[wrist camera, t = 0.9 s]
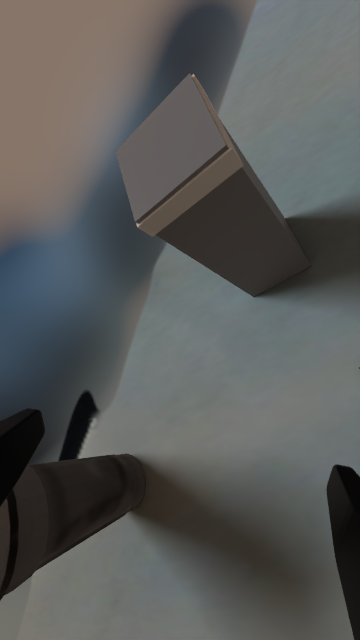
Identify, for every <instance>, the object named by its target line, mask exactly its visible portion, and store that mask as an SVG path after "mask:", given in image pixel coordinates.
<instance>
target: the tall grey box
mask: <svg viewBox="0 0 360 640" xmlns="http://www.w3.org/2000/svg"><path fill="white" fill-rule="evenodd" d="M116 155H117V158H118V162H119V166H120V169H121V173H122V176H123V180H124V184H125V187H126V191H127V194H128V198H129V201H130V205H131V209H132V212H133V216H134V220H135V222H136V224H137V227H138V228H139V229H141V230H143V231H144V232H146V233H148V234H149V235H151V236H152V237H153V236H154V235H157V236H158V237H160V238H161V239H163V240H165V241H166V242H168V243H169V244H171V245H172V246H174V247H175V248H177V249H179V250H180V251H182V252H183V253H185V254H187V255H188V256H190V257H191V258H193V259H194V260H196V261H198V262H199V263H201V264H202V265H204V266H205V267H207V268H209V269H210V270H212V271H213V272H215V273H217V274H218V275H220V276H221V277H223V278H224V279H226V280H228V281H229V282H231V283H232V284H234V285H235V286H237V287H239V288H240V289H242V290H243V291H245V292H247V293H248V294H250V295H251V296H253V297H255V296H257V295H259V294H260V293H262V292H264V291H266V290H268V289H270V288H272V287H273V286H275V285H277V284H279V283H281V282H283V281H285V280H286V279H288V278H290V277H292V276H294V275H296V274H298V273H299V272H301V271H303V270H305V269H307V268H309V267H311V265H310V264H309V262H308V260H307V258H306V256H305V254H304V253H303V251H302V249H301V247H300V245H299V243H298V242H297V240H296V238H295V236H294V234H293V232H292V231H291V229H290V227H289V225H288V223H287V222H286V220H285V218H284V216H283V215H282V213H281V212H280V210H279V209H278V207H277V206H276V204H275V203H274V201H273V200H272V198H271V197H270V195H269V193H268V192H267V190H266V189H265V187H264V186H263V184H262V183H261V181H260V180H259V178H258V177H257V175H256V174H255V172H254V171H253V169H252V168H251V166H250V164H249V163H248V161H247V160H246V158H245V157H244V155H243V154H242V152H241V151H240V149H239V148H238V146H237V145H236V143H235V142H234V140H233V139H232V137H231V135H230V134H229V132H228V131H227V129H226V128H225V126H224V125H223V123H222V122H221V120H220V119H219V117H218V115H217V113H216V111H215V109H214V108H213V106H212V104H211V102H210V100H209V98H208V96H207V94H206V92H205V91H204V89H203V88H202V86H201V85H200V83H199V82H198V80H197V79H196V77H195V76H194V74H193V75H192V76H191V75H190V74H188V75H187V77H186V78H185V79H184V80H183V81H182V82H181V83H180V84H179V85H178V86H177V87H176V88H175V89H174V90H173V91H172V92H171V93H170V94H169V95H168V96H167V98H166V99H165V100H164V101H163V102H162V103H161V104H160V105H159V106H158V107H157V108H156V109H155V110H154V111H153V112H152V113H151V114H150V115H149V116H148V118H147V119H146V120H145V121H144V122H143V123H142V124H141V125H140V126H139V127H138V128H137V129H136V130H135V131H134V132H133V133H132V134H131V135H130V136H129V137H128V138H127V140H126V141H125V142H124V143H123V144H122V145H121V146H120V147H119V148H118V149H117V150H116Z"/></svg>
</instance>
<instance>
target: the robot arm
mask: <svg viewBox="0 0 360 640" xmlns="http://www.w3.org/2000/svg"><path fill="white" fill-rule="evenodd" d="M44 432H45V427H44V422H43V417H42V413H41V411H40V410H37V409H32V408H27V409H25V410H22V411H20V412H18V413H16V414H14V415H12V416H10V417H8V418H6V419H3V420H1V421H0V507H1V505H2V504H3V502H4V501H5V499H6V498H7V497H8V495H9V494H10V492H11V491H12V489H13V488H14V486H15V485H16V483H17V482H18V480H19V478H20V477H21V475H22V473H23V472H24V470H25V468H26V466H27V464H28V463H29V461H30V459H31V457H32V456H33V454H34V452H35V450H36V448H37V447H38V445H39V443H40V441H41V439H42V438H43V436H44ZM327 499H328V506H329V514H330V522H331V530H332V537H333V545H334V552H335V558H336V563H337V567H338V572H339V576H340V580H341V585H342V589H343V593H344V597H345V602H346V606H347V610H348V615H349V619H350V623H351V627H352V632H353V636H354V640H360V476H359V475H358V474H357V473H356V472H355V471H354V470H353V469H352V468H351V467H348V466H342V465H334V466H333V468H332V471H331V474H330V477H329V481H328V484H327Z"/></svg>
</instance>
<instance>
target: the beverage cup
mask: <svg viewBox="0 0 360 640" xmlns="http://www.w3.org/2000/svg"><path fill="white" fill-rule="evenodd" d="M144 491H145V477H144V473H143V470H142V467H141V465H140V464H139V462H138V461H137V460H136V459H135V458H134V457H133V456H131V455H129V454H121V455H106V456H98V457H90V458H82V459H74V460H66V461H58V462H50V463H42V464H34V465H27V466H26V468H25V470H24V472H23V473H22V475H21V477H20V478H19V480H18V482H17V483H16V485H15V486H14V488H13V489H12V491H11V492H10V494H9V495H8V497H7V498H6V499H5V501H4V502H3V504H2V505H1V507H0V600H1V599H2V597H3V596H4V595H6V594H8V593H9V592H11V591H13V590H14V589H15V588H17V587H18V586H19V585H21V584H22V583H23V582H24V581H26V580H27V579H28V578H29V577H31V576H32V575H33V573H34V572H35V571H36V570H38V569H39V568H41V567H43V566H44V565H46V564H47V563H49V562H51V561H52V560H54V559H55V558H57V557H59V556H60V555H62V554H63V553H65V552H67V551H68V550H70V549H71V548H73V547H75V546H76V545H78V544H79V543H81V542H83V541H84V540H86V539H87V538H89V537H91V536H92V535H94V534H95V533H97V532H99V531H100V530H102V529H103V528H105V527H107V526H108V525H110V524H111V523H113V522H115V521H116V520H118V519H119V518H121V517H123V516H124V515H125V514H126V513H127V512H129V511H130V510H132V509H133V508H135V507H137V506H138V505H139V503H140V502H141V501H142V498H143V496H144Z"/></svg>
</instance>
